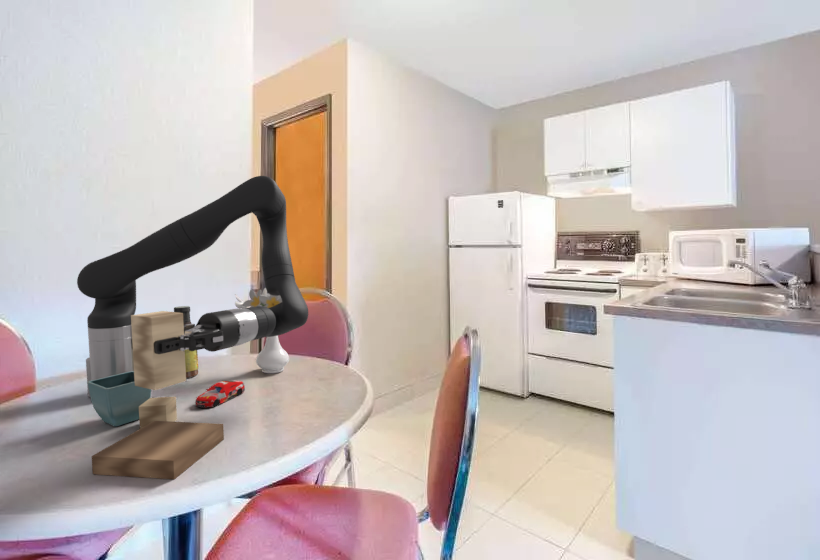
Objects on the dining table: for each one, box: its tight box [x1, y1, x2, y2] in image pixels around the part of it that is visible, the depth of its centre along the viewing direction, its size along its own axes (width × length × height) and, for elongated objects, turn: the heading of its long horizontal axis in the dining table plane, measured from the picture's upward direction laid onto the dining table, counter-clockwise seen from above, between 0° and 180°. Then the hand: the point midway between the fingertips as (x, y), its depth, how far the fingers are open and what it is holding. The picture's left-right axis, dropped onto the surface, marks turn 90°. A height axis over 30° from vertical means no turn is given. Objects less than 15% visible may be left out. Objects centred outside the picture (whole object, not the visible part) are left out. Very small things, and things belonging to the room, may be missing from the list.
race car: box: [194, 380, 246, 408], centre depth 101 cm, size 13×5×4 cm, turn 162°
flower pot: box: [86, 371, 152, 427], centre depth 88 cm, size 9×9×9 cm
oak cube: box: [138, 396, 178, 429], centre depth 86 cm, size 5×5×5 cm
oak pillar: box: [131, 310, 187, 391], centre depth 72 cm, size 6×6×12 cm
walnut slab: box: [91, 421, 225, 480], centre depth 73 cm, size 14×14×3 cm
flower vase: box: [234, 287, 290, 374], centre depth 124 cm, size 13×18×25 cm
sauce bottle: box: [173, 305, 199, 379], centre depth 119 cm, size 6×6×20 cm
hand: (144, 346), depth 70 cm, fingers closed on oak pillar, 5 cm apart
